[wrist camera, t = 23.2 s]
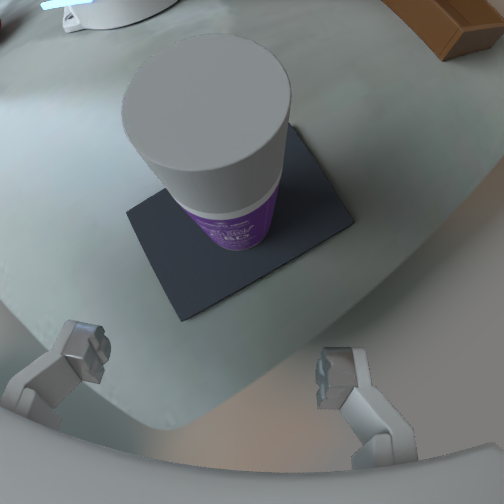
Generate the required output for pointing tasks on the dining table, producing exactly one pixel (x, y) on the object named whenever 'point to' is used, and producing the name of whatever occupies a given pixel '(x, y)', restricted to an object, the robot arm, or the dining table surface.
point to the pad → (244, 261)
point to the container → (213, 131)
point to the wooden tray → (451, 24)
